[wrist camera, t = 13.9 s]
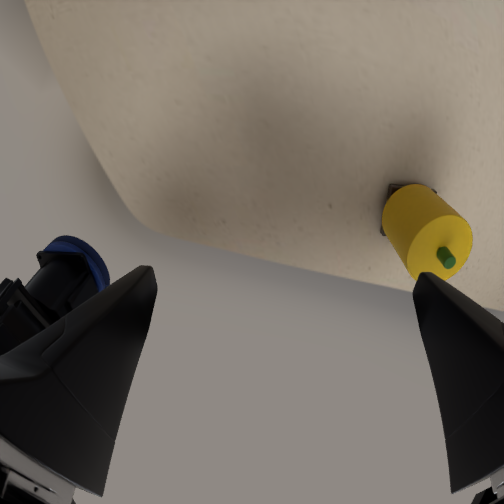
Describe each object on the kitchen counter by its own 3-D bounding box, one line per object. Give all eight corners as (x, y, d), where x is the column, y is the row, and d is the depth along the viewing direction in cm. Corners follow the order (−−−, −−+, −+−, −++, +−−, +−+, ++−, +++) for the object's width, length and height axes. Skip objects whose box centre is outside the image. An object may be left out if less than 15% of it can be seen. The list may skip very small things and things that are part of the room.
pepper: (374, 240, 21) (403, 298, 16) (386, 178, 18) (428, 221, 13) (428, 243, 21) (465, 295, 15) (443, 185, 18) (492, 227, 13)
